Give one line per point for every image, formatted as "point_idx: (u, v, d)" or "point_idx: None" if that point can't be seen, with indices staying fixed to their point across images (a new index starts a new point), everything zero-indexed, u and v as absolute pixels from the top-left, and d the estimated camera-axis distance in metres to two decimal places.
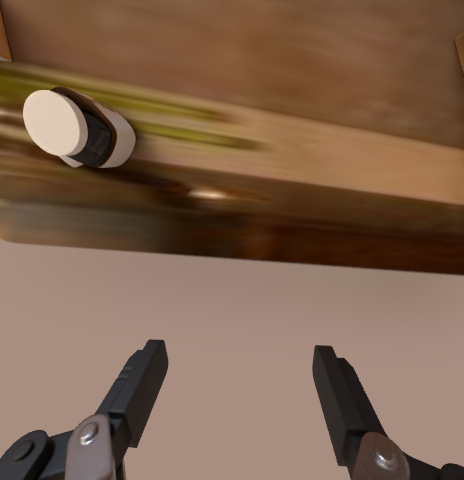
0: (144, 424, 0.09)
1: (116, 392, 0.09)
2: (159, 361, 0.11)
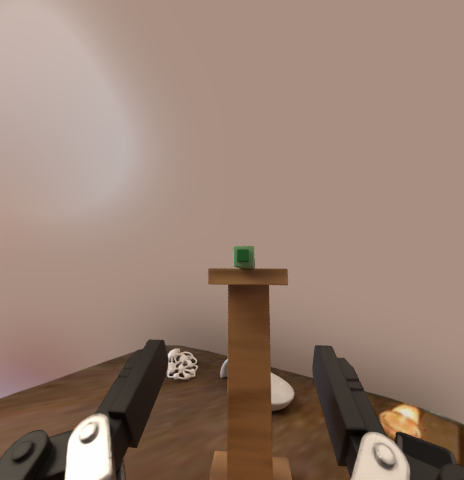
0: (144, 424, 0.09)
1: (116, 392, 0.09)
2: (159, 361, 0.11)
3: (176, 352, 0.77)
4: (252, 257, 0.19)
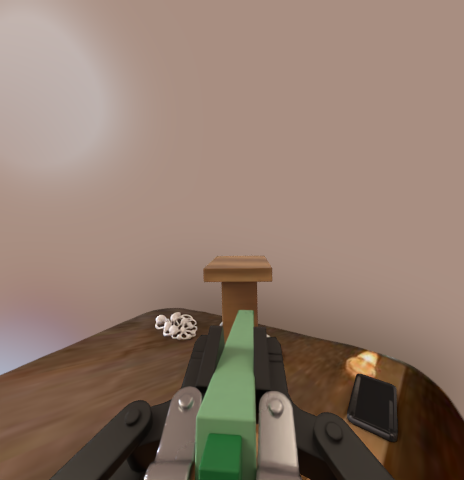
0: None
1: (194, 371, 0.10)
2: (222, 344, 0.12)
3: (177, 315, 0.87)
4: (251, 458, 0.06)
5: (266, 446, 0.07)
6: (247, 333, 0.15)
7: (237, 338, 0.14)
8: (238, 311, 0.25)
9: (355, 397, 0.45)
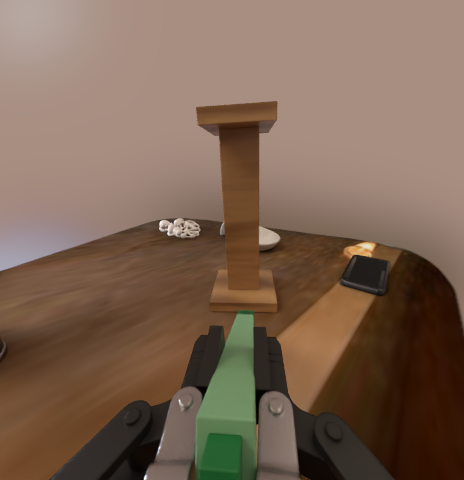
0: None
1: (194, 371, 0.10)
2: (222, 345, 0.12)
3: (180, 221, 0.88)
4: (252, 458, 0.06)
5: (266, 446, 0.07)
6: (247, 333, 0.15)
7: (237, 338, 0.14)
8: (238, 311, 0.25)
9: (350, 269, 0.48)
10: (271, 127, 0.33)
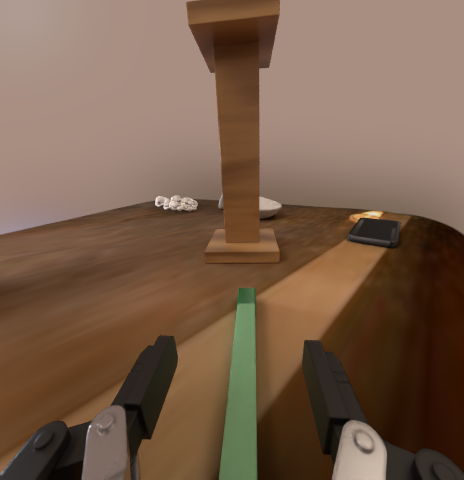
0: (157, 417, 0.10)
1: (130, 386, 0.09)
2: (169, 356, 0.11)
3: (177, 197, 0.84)
4: None
5: None
6: (249, 374, 0.15)
7: (239, 394, 0.13)
8: (239, 293, 0.24)
9: (357, 228, 0.45)
10: (272, 46, 0.29)
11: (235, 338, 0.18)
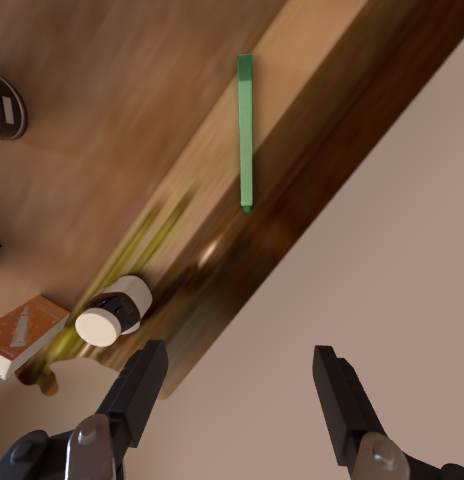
0: (144, 424, 0.09)
1: (116, 392, 0.09)
2: (159, 361, 0.11)
3: None
4: None
5: None
6: (248, 143, 0.32)
7: (244, 153, 0.32)
8: (238, 65, 0.28)
9: None
10: None
11: (240, 119, 0.31)
